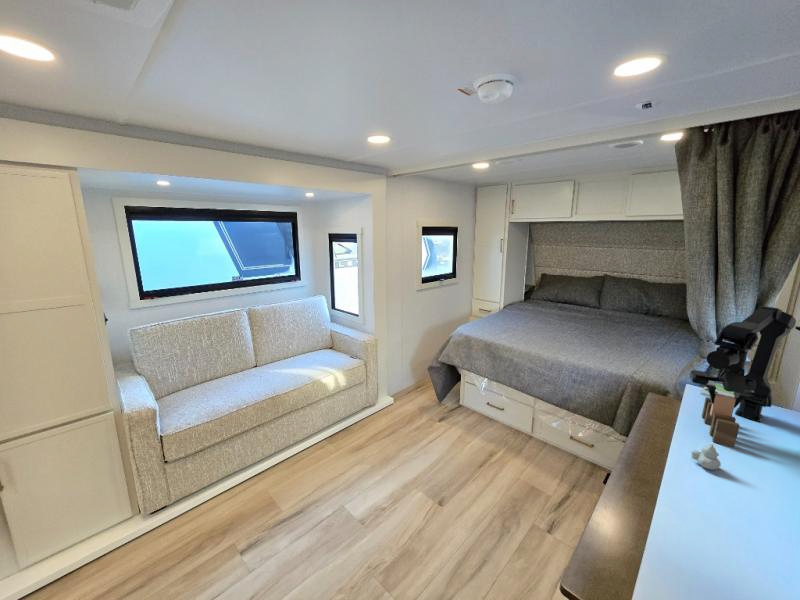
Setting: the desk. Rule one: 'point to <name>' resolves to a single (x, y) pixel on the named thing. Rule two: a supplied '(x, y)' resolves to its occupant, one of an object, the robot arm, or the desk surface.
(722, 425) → the domino
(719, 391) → the handheld gaming console
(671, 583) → the desk surface
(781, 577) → the desk surface
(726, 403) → the domino
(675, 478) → the desk surface
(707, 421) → the domino
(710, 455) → the grey lumpy figure
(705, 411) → the domino
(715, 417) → the domino
